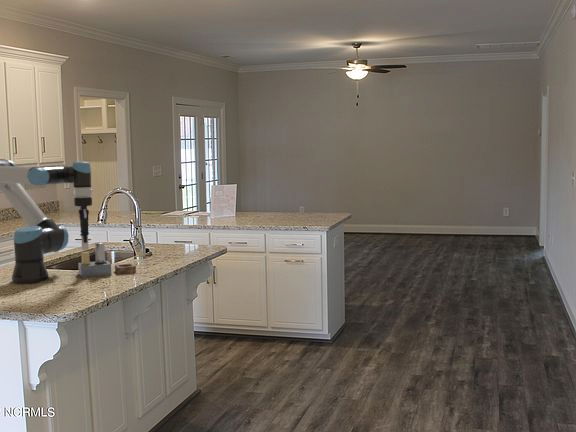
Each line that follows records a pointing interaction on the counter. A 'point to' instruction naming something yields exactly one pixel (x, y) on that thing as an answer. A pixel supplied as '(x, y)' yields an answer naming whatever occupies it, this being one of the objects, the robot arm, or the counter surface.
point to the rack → (125, 269)
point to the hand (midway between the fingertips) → (85, 249)
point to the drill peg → (100, 253)
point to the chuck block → (94, 269)
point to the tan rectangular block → (85, 258)
